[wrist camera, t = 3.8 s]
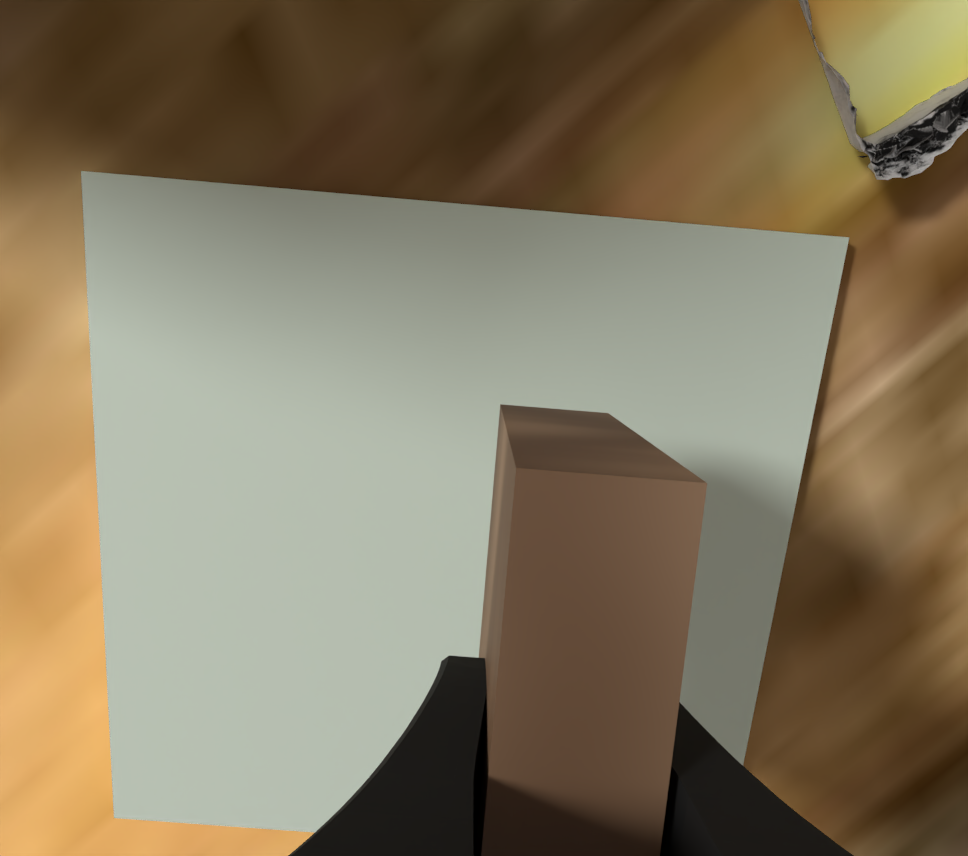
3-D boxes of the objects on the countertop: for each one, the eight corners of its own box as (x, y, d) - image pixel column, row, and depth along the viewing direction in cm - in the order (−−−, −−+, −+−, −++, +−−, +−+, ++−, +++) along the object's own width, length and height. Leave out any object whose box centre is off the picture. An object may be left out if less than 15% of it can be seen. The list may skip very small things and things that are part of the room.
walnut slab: (607, 413, 14) (706, 482, 8) (565, 808, 15) (623, 1137, 9) (500, 404, 14) (516, 467, 8) (466, 801, 15) (457, 1125, 9)
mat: (718, 848, 22) (723, 861, 22) (122, 804, 22) (113, 817, 22) (839, 237, 18) (849, 237, 17) (91, 172, 18) (80, 170, 17)
